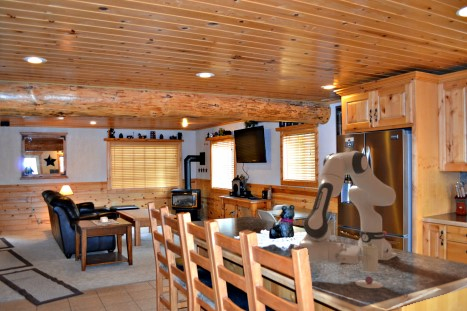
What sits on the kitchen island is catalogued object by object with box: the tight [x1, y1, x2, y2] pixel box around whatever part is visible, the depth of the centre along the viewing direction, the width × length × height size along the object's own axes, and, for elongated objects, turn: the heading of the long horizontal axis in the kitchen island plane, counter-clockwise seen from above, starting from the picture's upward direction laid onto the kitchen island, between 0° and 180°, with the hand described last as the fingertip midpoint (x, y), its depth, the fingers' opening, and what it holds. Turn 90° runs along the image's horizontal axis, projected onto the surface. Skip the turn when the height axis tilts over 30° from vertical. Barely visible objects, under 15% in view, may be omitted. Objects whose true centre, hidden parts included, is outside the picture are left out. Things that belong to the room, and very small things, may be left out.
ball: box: [364, 276, 374, 284], centre depth 170 cm, size 3×3×3 cm
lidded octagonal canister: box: [361, 242, 379, 272], centre depth 170 cm, size 6×6×11 cm
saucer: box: [354, 279, 384, 289], centre depth 170 cm, size 11×11×1 cm
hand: (371, 256), depth 170 cm, fingers closed on lidded octagonal canister, 6 cm apart
